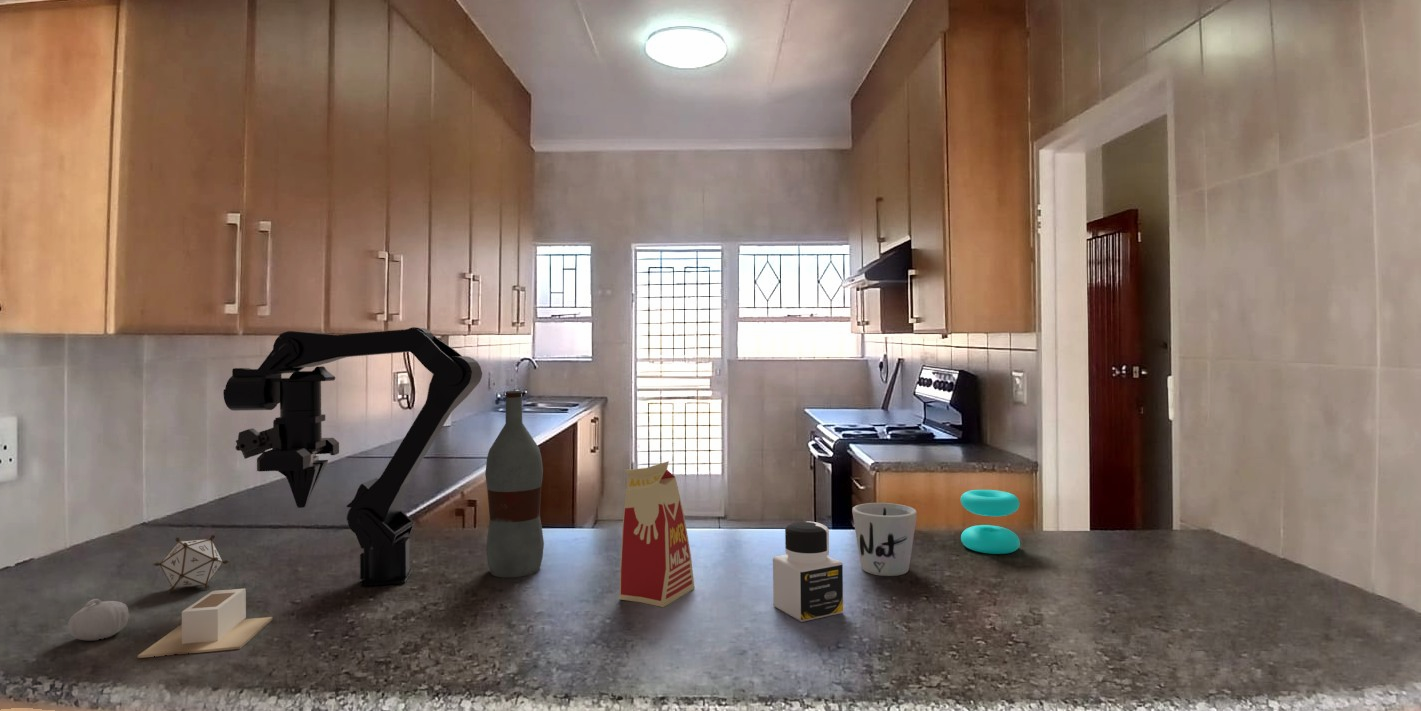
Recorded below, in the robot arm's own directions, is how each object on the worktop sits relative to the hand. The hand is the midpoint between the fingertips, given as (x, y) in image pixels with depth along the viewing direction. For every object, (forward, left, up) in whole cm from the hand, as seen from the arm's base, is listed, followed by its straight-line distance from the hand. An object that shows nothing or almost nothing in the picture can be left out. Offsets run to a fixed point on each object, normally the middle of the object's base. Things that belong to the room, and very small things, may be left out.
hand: (301, 507), depth 112 cm
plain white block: (+4, +16, -10) cm, 19 cm away
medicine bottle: (-74, +31, -12) cm, 81 cm away
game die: (+16, -1, -12) cm, 20 cm away
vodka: (-33, +2, -12) cm, 35 cm away
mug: (-94, +15, -12) cm, 96 cm away
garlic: (+18, +18, -12) cm, 28 cm away
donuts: (-117, +10, -12) cm, 118 cm away
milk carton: (-54, +19, -12) cm, 59 cm away
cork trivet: (+4, +22, -12) cm, 25 cm away
